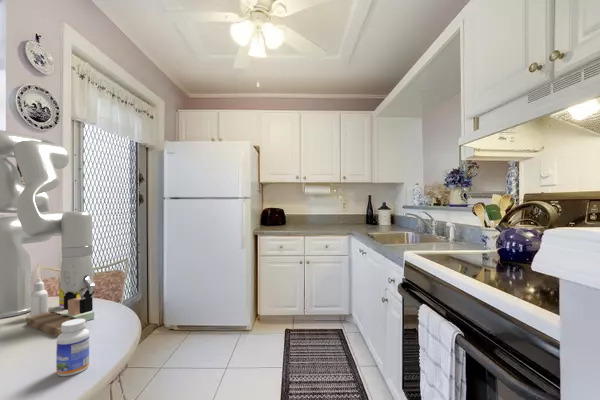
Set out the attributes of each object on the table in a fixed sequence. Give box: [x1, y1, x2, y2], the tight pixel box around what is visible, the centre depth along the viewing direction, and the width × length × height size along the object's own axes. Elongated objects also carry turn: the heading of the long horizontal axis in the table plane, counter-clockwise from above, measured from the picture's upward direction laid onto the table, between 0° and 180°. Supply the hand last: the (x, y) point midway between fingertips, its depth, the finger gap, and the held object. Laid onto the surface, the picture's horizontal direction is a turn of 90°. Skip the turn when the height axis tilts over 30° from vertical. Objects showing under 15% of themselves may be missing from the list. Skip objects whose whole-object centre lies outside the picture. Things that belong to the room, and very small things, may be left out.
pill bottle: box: [55, 319, 90, 377], centre depth 61 cm, size 5×5×10 cm
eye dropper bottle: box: [30, 277, 49, 317], centre depth 93 cm, size 4×6×12 cm
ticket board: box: [25, 310, 86, 337], centre depth 85 cm, size 20×6×2 cm, turn 61°
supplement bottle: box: [58, 279, 83, 310], centre depth 103 cm, size 7×7×13 cm
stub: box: [61, 297, 95, 322], centre depth 90 cm, size 8×5×6 cm, turn 61°
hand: (78, 309), depth 90 cm, fingers open, 8 cm apart
